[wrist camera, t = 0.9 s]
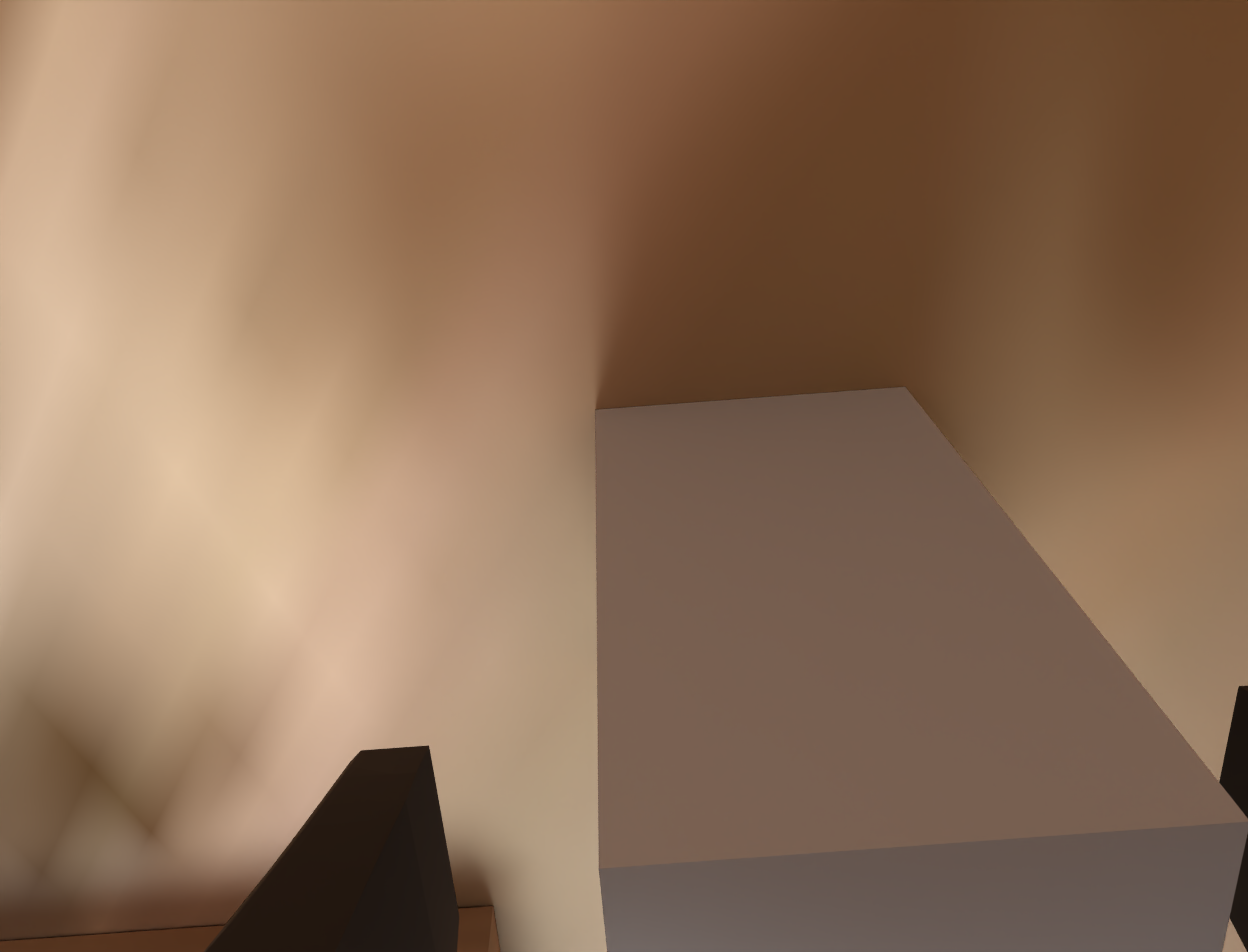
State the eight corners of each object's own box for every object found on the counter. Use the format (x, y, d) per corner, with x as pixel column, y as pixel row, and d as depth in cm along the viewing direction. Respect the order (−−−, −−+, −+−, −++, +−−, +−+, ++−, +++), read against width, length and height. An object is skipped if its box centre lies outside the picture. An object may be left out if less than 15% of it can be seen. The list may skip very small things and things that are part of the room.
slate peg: (894, 649, 16) (1161, 1229, 8) (617, 669, 16) (639, 1266, 8) (905, 386, 14) (1249, 820, 7) (596, 410, 14) (599, 868, 7)
